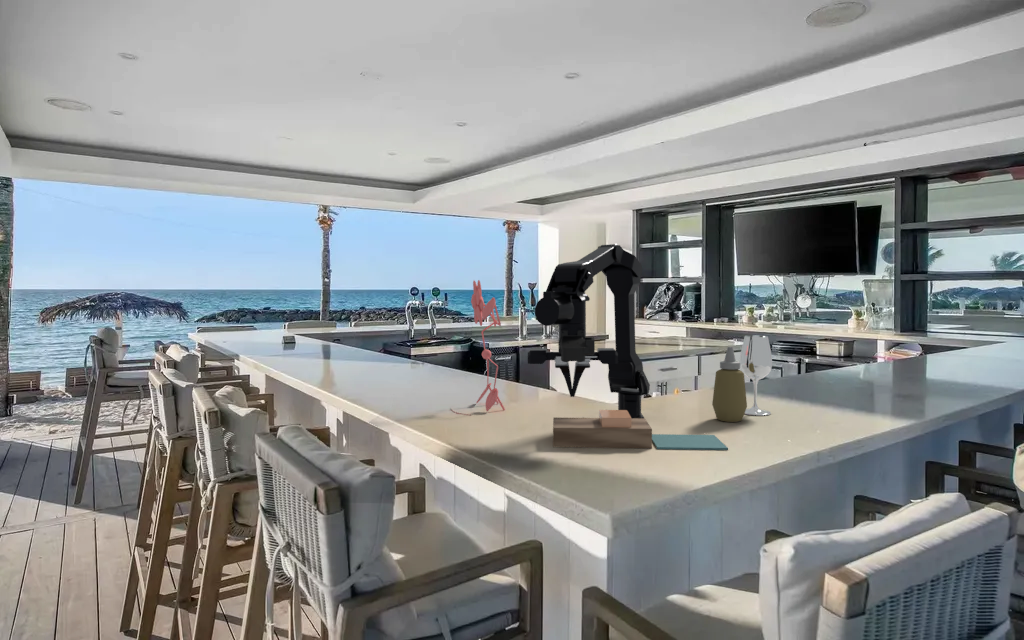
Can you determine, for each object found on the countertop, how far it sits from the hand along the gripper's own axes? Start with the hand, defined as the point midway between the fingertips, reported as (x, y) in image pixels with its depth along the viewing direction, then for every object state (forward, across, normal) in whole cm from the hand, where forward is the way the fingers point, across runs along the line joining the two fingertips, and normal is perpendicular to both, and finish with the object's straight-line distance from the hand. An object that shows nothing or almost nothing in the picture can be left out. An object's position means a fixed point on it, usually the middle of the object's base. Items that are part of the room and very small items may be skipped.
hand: (572, 396), depth 130 cm
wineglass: (+10, +48, +32) cm, 58 cm away
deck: (+10, +6, 0) cm, 11 cm away
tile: (+6, +9, 0) cm, 11 cm away
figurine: (+10, -25, +35) cm, 44 cm away
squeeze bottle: (+10, +39, +23) cm, 46 cm away
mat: (+10, +24, 0) cm, 26 cm away
